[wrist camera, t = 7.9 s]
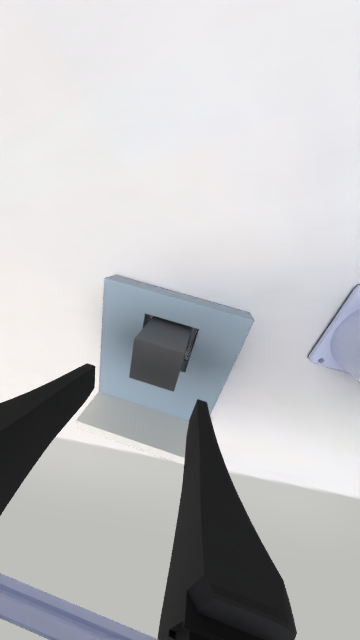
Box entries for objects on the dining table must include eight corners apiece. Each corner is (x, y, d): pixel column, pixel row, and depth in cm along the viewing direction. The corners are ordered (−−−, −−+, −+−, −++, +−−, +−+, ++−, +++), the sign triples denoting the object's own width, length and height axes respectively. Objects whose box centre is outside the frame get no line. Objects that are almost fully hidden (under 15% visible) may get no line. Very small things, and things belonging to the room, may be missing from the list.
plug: (193, 321, 18) (185, 353, 13) (183, 353, 20) (173, 394, 14) (157, 311, 18) (134, 338, 13) (151, 344, 20) (128, 379, 15)
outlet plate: (249, 312, 17) (268, 343, 11) (202, 418, 23) (199, 470, 18) (115, 274, 17) (71, 286, 12) (106, 387, 24) (76, 427, 18)
